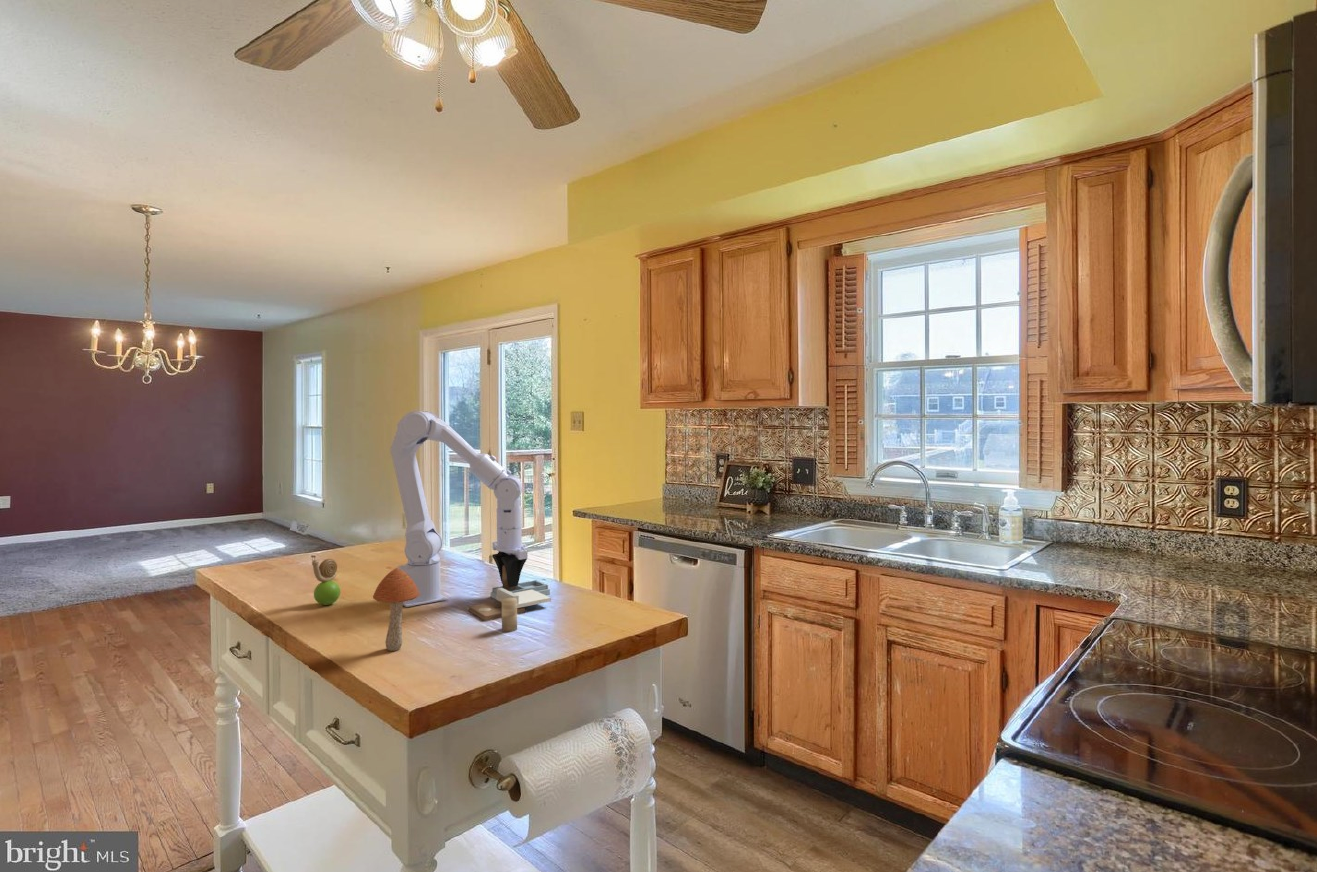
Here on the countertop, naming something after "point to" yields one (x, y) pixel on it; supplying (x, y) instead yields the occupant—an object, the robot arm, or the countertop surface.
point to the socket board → (526, 588)
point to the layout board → (490, 610)
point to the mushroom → (395, 603)
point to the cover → (523, 597)
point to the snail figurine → (325, 581)
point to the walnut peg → (505, 583)
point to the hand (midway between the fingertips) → (509, 584)
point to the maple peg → (509, 614)
